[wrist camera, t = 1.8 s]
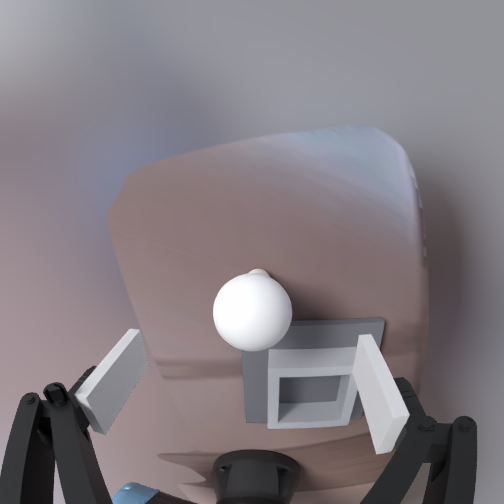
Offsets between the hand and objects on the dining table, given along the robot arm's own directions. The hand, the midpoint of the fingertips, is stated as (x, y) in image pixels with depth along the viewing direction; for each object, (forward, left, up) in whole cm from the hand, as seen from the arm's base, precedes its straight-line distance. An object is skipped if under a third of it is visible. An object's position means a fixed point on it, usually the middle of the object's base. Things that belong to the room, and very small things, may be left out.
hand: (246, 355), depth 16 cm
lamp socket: (-13, -6, -14) cm, 20 cm away
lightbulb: (0, 0, -14) cm, 14 cm away
